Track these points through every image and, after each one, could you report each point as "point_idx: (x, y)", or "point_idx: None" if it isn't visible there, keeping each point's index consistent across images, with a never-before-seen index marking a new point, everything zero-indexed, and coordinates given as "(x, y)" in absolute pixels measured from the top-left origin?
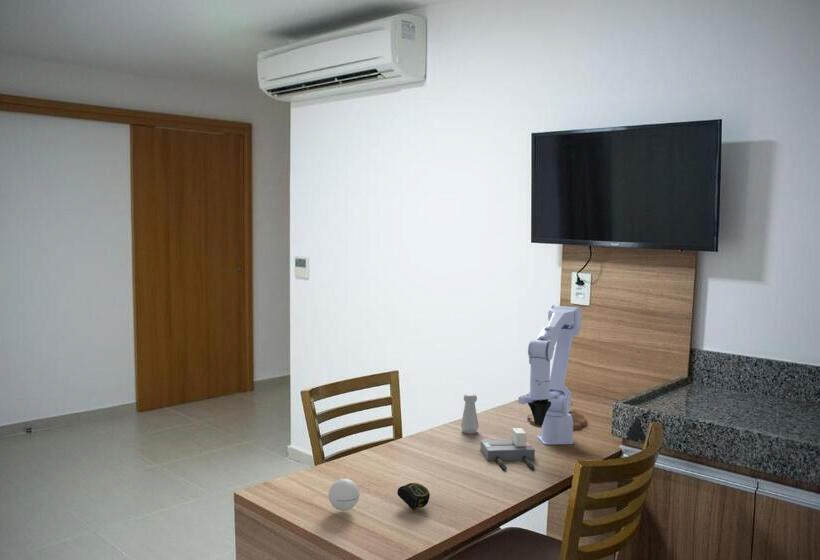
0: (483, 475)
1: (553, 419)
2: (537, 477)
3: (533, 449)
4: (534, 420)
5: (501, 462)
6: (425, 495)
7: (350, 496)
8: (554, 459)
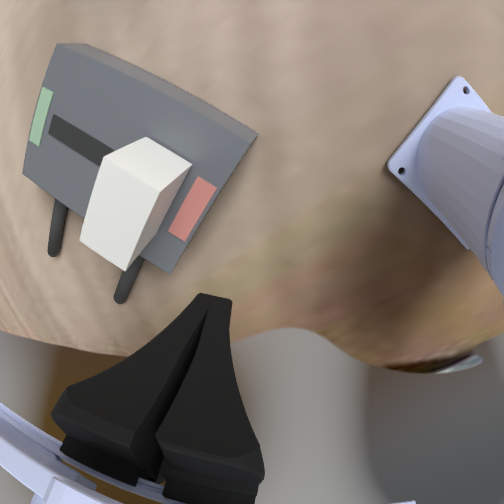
0: (12, 237)
1: (478, 253)
2: (108, 324)
3: (165, 270)
4: (185, 311)
5: (51, 229)
6: None
7: None
8: (252, 292)
